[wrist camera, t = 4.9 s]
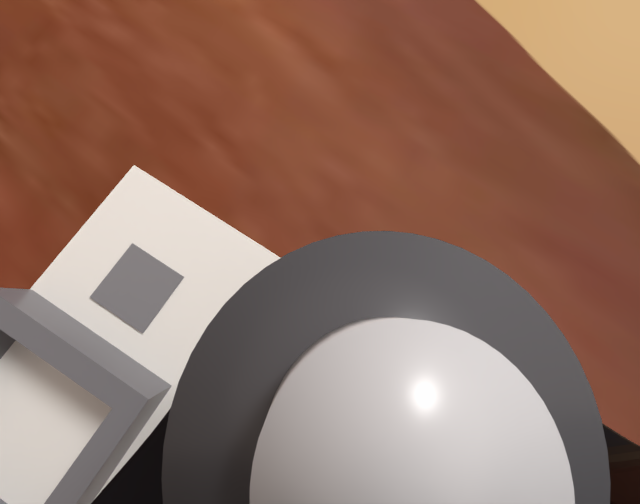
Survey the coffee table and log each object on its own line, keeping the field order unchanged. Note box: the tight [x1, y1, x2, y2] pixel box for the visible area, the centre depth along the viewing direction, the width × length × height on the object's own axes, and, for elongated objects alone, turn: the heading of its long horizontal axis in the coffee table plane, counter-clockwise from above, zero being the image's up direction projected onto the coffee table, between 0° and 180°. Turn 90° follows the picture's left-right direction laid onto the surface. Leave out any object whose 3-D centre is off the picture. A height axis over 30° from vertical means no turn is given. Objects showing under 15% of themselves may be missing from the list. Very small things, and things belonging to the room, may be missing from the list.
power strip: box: [0, 165, 280, 504], centre depth 13 cm, size 20×10×4 cm, turn 148°
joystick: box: [161, 231, 611, 504], centre depth 9 cm, size 4×4×14 cm
